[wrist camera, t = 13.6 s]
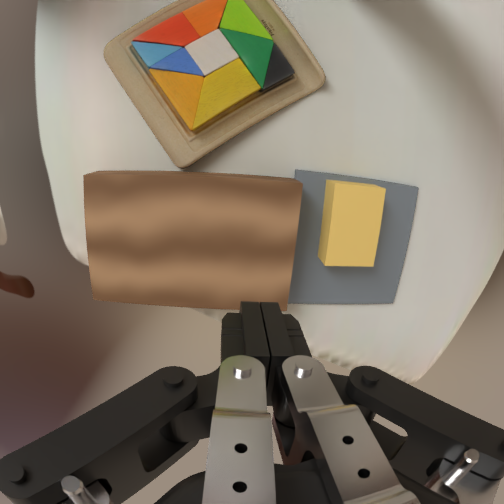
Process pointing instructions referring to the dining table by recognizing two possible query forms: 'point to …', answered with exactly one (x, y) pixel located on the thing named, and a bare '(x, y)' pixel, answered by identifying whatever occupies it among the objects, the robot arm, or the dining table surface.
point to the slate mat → (350, 277)
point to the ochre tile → (350, 223)
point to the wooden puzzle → (211, 71)
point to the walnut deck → (191, 237)
